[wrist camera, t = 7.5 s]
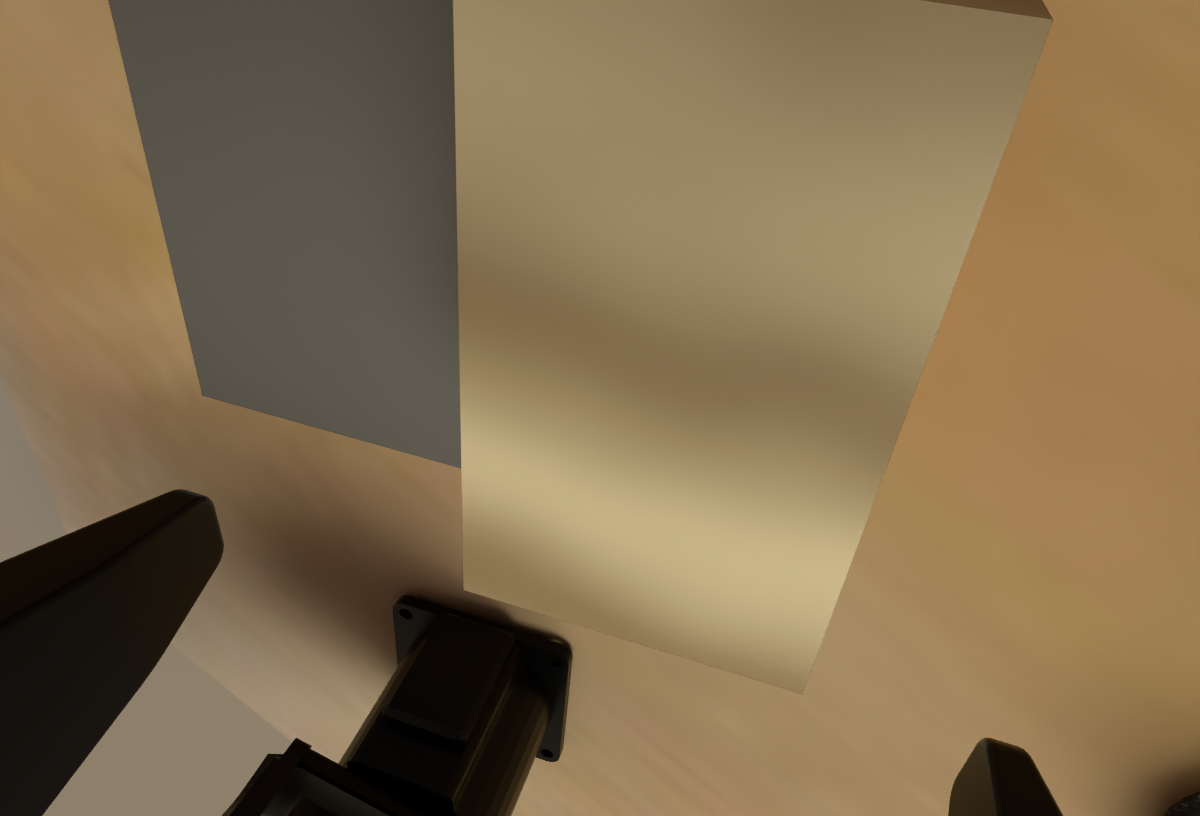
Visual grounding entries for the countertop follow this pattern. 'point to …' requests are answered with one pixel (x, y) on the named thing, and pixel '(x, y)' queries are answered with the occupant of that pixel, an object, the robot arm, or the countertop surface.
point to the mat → (309, 205)
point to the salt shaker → (1186, 807)
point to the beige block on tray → (708, 294)
